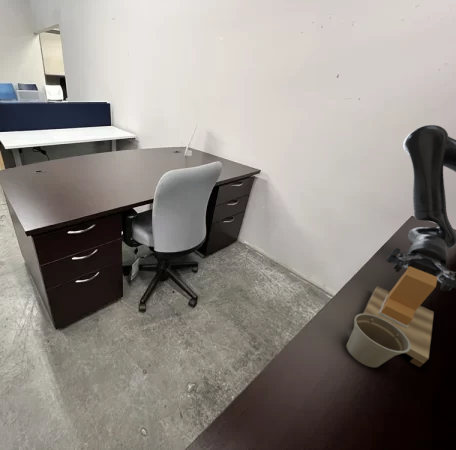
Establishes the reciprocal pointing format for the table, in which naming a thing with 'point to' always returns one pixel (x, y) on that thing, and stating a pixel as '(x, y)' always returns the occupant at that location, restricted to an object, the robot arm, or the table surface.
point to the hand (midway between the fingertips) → (420, 278)
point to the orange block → (407, 296)
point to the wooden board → (416, 329)
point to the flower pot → (376, 340)
